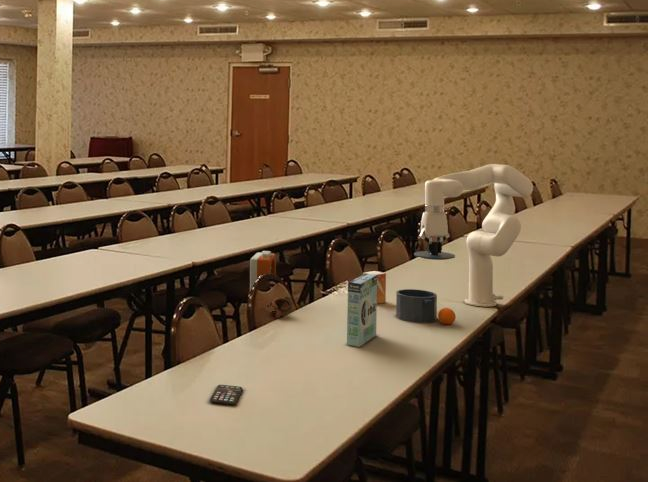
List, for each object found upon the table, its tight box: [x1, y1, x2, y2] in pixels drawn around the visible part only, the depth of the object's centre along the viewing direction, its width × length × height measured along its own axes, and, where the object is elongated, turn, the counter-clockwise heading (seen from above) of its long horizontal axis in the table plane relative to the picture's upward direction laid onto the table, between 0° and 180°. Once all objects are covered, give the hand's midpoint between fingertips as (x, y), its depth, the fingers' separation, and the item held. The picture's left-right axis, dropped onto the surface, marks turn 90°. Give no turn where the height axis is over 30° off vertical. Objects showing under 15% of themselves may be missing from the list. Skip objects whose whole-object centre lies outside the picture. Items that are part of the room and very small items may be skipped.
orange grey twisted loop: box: [270, 297, 293, 319], centre depth 337 cm, size 12×10×8 cm
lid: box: [413, 240, 456, 261], centre depth 348 cm, size 16×16×7 cm
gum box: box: [346, 272, 378, 348], centre depth 301 cm, size 20×5×23 cm, turn 144°
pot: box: [395, 288, 438, 324], centre depth 334 cm, size 15×21×10 cm
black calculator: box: [209, 384, 243, 406], centre depth 242 cm, size 7×1×15 cm
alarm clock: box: [249, 250, 277, 292], centre depth 373 cm, size 18×9×21 cm, turn 160°
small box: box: [362, 270, 387, 305], centre depth 362 cm, size 8×6×13 cm
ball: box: [437, 307, 456, 326], centre depth 324 cm, size 6×6×6 cm
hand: (434, 252), depth 348 cm, fingers closed on lid, 3 cm apart
